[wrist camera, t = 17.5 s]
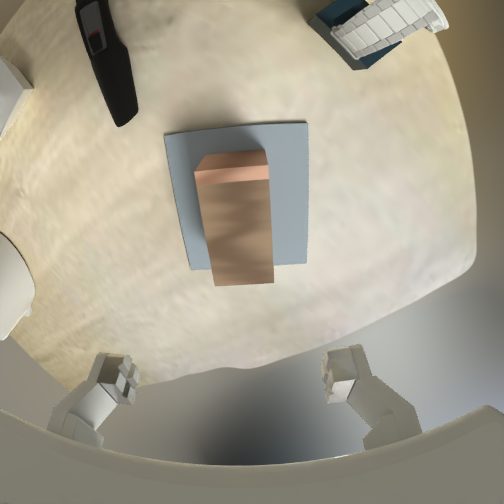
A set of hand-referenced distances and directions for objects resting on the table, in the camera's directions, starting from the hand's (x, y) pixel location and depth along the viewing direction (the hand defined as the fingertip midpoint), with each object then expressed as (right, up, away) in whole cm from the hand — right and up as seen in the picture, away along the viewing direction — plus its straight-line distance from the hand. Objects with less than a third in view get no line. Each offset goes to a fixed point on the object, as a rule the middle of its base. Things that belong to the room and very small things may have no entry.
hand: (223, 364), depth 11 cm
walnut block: (+1, +3, +15) cm, 15 cm away
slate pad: (0, +9, +15) cm, 17 cm away
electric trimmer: (-11, +23, +6) cm, 26 cm away
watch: (+9, +23, +6) cm, 25 cm away
